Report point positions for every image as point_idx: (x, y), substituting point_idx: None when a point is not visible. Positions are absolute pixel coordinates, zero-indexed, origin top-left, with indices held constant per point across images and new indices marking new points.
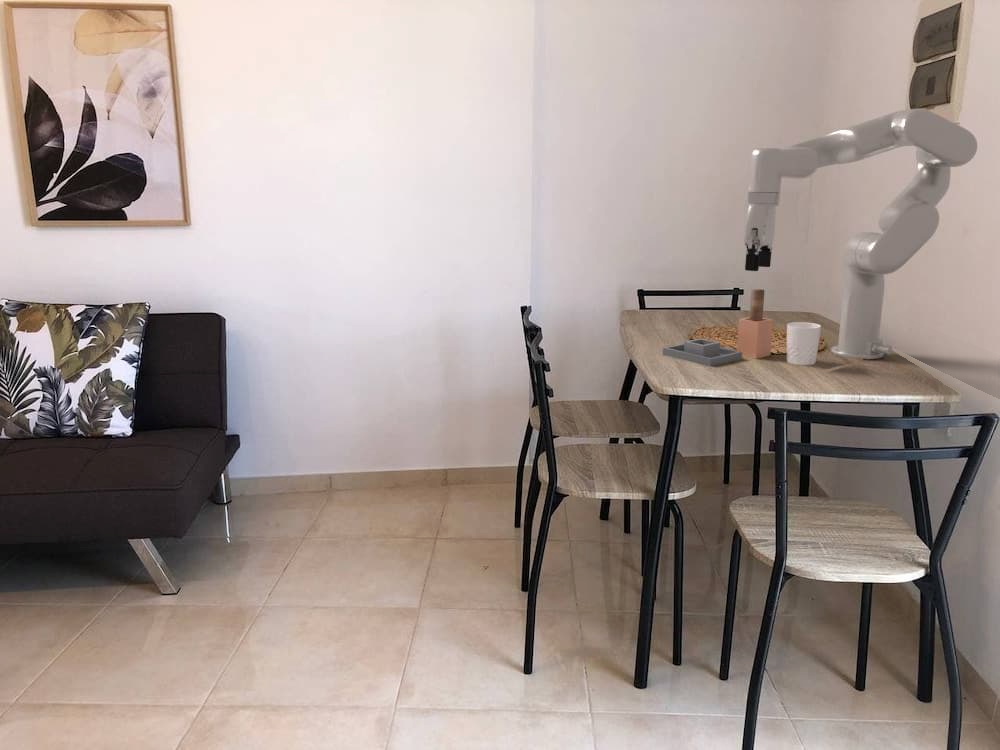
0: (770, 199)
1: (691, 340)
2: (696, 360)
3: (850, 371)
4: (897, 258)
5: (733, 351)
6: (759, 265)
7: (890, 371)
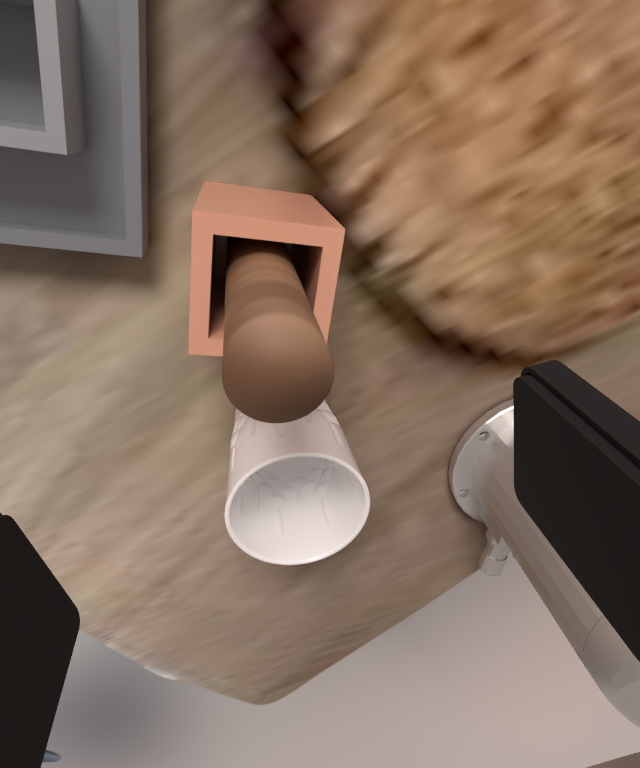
0: None
1: None
2: None
3: None
4: None
5: (125, 214)
6: (516, 402)
7: (373, 585)
